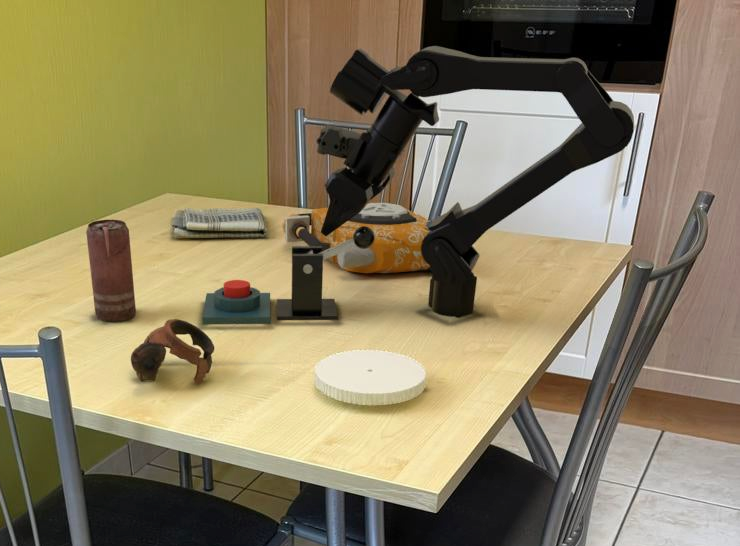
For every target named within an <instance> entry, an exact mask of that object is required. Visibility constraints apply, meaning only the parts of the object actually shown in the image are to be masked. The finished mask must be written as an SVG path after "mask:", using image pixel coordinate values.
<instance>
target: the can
mask: <svg viewBox="0 0 740 546" xmlns="http://www.w3.org/2000/svg"><path fill="white" fill-rule="evenodd" d="M85 232H86V243H87V251H88V260H89V267H90V268H89V269H90V278H91V287H92V296H93V305H94V314H95V316H96V318H97V319H98V320H99V321H101V322H105V323H121V322H122V323H123V322H127V321H129V320H132V319H133V318H134V317H135V315H136V313H137V309H136V297H135V287H134V284H135V283H134V273H133V263H132V261H133V260H132V251H131V239H130V229H129V228H128V226H127V223H126V222H125V221H124V220H119V219H101V220H100V219H99V220H96V221H92V222H89V223H88V225H87V229H86V230H85Z"/></svg>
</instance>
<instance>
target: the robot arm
mask: <svg viewBox="0 0 740 546" xmlns="http://www.w3.org/2000/svg"><path fill="white" fill-rule="evenodd" d="M407 90H409V91H410V93H409V94H408V95H406V94H405V93H403V92H401V91H407ZM470 90H471V91H472V90H485V91H487V90H488V91H489V90H490V91H512V92H513V91H516V92H519V91H520V92H543V93H559V94H561V95H562V96H563V97H564V99H565V100H566V102H567V103H568V105H569V106H570V108H571V109H572V110H573V112H574V113H575V115H576V116H577V118H578V119H579V121H580V122H581V123H580V124H579V125H578V126H577V127H576V128H575V129H574V131H572V132H571V133H570V134H569V136H567V138H566V139H565V140H564V141H563V142H562V143H561V144H560V145H558V146H557V147H556V148H554V149H553V150H551V151H550V152H549V153H547V154H546V155H544V156H543V157H541V158H540V159H539V160H537V161H536V162H535V163H533V164H532V165H530V166H529V167H527V168H526V169H524V170H523V171H522V172H520V173H519V174H517V175H516V176H515V177H513V178H512V179H510V180H509V181H507V182H506V183H505V184H503V185H501V186H500V187H499V188H497V189H496V190H495V191H493V192H492V193H491V194H489V195H488V196H486V197H485V198H483V199H482V200H480V201H479V202H478V203H476V204H474V205H472V206H469V207H467V208H465V209H462V207H461V204H460V202H458V201H457V202H456V203H455V204H454V205H453V206H452V207H451V208H450V209H449V210H448V211H447V212H445V213H443V214H441V215H437V216H435V218H434V220H432V221H431V222H432V223H431V225H430V226H429V227H428V230H430V231H429V232H428V233H427V235H426V236H425V237H424V239H423V241H422V244H421V254H422V256H423V258H424V260H425V261H426V262H427V263H428V265H430V266H431V270H432V272H431V279H430V280H429V289H428V292H429V293H428V302H427V305H428V306H429V308H431V311H432V312H433V313H435V314H437V315H439V316H444V317H453V318H457V319H459V318H463V317H466V316H469V315H473V314H474V308H475V299H476V291H477V283H478V276H476V275H475V273H473V270H474V269H475V267H476V264H477V262H478V261H479V259H480V253H479V252H478V250H477V249H476V248H475V247H474V246H473V245H475V244H476V242H477V241H478V240H479V239H480V238H481V237H482V236H483V235H484V234H485V233H486V232H488V230H490V229H491V228H493V227H495V226H496V225H497V224H499V223H500V222H502V221H503V220H505V219H506V218H507V217H509V216H510V215H512V214H513V213H515V212H516V211H518V210H519V209H521V208H522V207H524V206H526V205H527V204H528V203H529V202H531V201H533V200H534V199H535V198H537V197H538V196H540V195H541V194H543V193H545V192H546V191H547V190H549V189H550V188H551V187H553V186H555V185H556V184H558V183H559V182H560V181H562V180H563V179H564V178H566V177H567V176H569V175H570V174H572V173H574V172H575V171H578V170H581V169H584V168H587V167H589V166H592V165H595V164H598V163H599V162H601V161H604V160H606V159H608V158H610V157H612V156H614V155H617V154H619V153H620V152H622V151H623V150H624V149H625V148H627V147H628V146H629V144H630V143H631V140H632V139H633V135H634V131H635V116H634V113H633V110H632V109H631V108H630V107H629V106H628V104H625V103H624V102H621V101H618V100H617V101H616V100H614V99H613V98H612V97H611V96H610V94H609V93H608V91H606V89H605V88H604V86H602V84H601V83H600V82H599V81H598V80H597V79H596V78H595V76H594V75H593V74H592V73H591V72H590V70H589V69H588V66H587V64H586V63H585V61H583V60H582V59H580V58H579V57H569V58H565V59H563V58H530V57H529V58H528V57H525V58H524V57H494V56H493V57H490V56H489V57H488V56H477V55H473V54H469V53H466V52H463V51H460V50H456V49H452V48H447V47H443V46H439V45H432V46H427V47H424V48H423V49H421V50H419V51H417V52H414V54H413V55H411V57H409V59H408V61H407V62H406V64H405V65H403V66H401V67H400V66H398V65H397V66H395V67H393V68H391V69H390V70H388V69H387V68H386V67H384V66H383V65H381V64H380V63H379V62H377V61H376V60H375V59H374V58H372V57H371V56H370V55H369V53H368V52H366V51H365V50H364V49H362V48H358V49H355V50H354V52H353V53H352V55H351V57H350V58H349V59H348V60H347V62H346V63H345V64H344V66H343V67H342V69H341V70H339V71H338V72H337V74H336V76H335V78H334V79H333V81H332V84H331V86H330V89H329V93H330V94H332V95H333V96H334V97H336V98H337V99H338V100H340V101H341V102H342V103H344V105H346V106H348V107H349V108H351V109H352V110H353V111H355V112H356V113H357V114H359V115H360V116H365V114H367V113H368V112H369V113H370V114H372V115H373V114H375V112H376V111H377V110H378V108H379V107H380V105H381V104H382V103H383V101H384V99H385V98H386V96H387V95H388V97H387V99H386V100H385V102H384V104H383V105H382V107H381V109H380V111H379V112H378V114H377V116H376V117H375V119H374V120H373V122H372V124H371V125H370V127H368V128H367V130H366V131H363V132H362V133H359V132H356V131H354V130H350V129H347V128H342V127H339V126H335V125H326V126H324V127H323V128H321V129H320V134H319V137H318V138H316V144H317V149H316V152H317V153H318V154H320V155H323V156H326V155H328V156H332V157H336V158H339V159H345V160H344V161H343V165H345V166H346V167H342V168H338V169H337V168H336V169H335V171H334V172H332V173H331V174H330V176H329V177H328V178H327V180H326V182H325V184H324V187H325V192H326V193H327V195H328V199H329V204H328V207H327V208H328V211H327V214H326V217H325V220H324V223H323V226H322V229H321V233H322V234H323V235H325V236H328V235H329V234H330V233H332V232H333V231H335V230H336V229H337V228H339V227H340V226H341V225H343V224H344V223H346V222H347V221H348V220H350V219H351V218H353V217H354V216H355V215H357V214H358V213H360V212H361V211H362V210H363V209H364V207H365V206H366V205H367V204H368V203H370V201H371V200H372V199H374V198H375V197H377V196H378V195H379V194H381V193H382V192H383V191H384V190H385V188H387V186H389V184H390V183H391V181H392V180H393V178H394V176H395V175H396V172H395V167H394V166H395V165H396V163H397V161H398V160H399V159H400V158H401V157H402V156H403V154H404V153H405V151H406V148H407V145H408V144H409V142H410V141H411V139H412V138H413V136H414V134H415V133H416V132H417V130H418V128H419V127H420V125H421V124H422V122H425V123H426V124H428V125H429V126H431V127H434V126H435V125H436V124H438V123H439V121H440V117H439V113H438V102H437V101H434V102H432V103H427V102H426V101H424V100H423V99H422V98H429V97H430V98H431V97H438V96H443V95H449V94H454V93H460V92H464V91H470ZM347 167H348V168H347Z"/></svg>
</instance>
